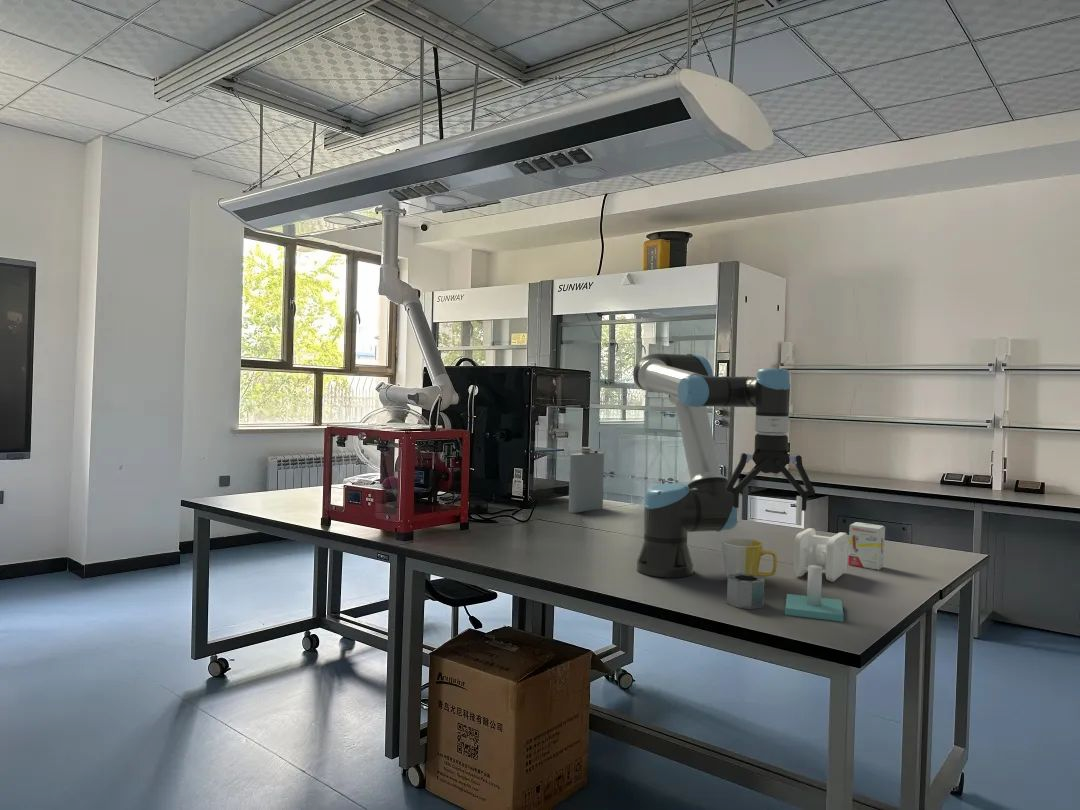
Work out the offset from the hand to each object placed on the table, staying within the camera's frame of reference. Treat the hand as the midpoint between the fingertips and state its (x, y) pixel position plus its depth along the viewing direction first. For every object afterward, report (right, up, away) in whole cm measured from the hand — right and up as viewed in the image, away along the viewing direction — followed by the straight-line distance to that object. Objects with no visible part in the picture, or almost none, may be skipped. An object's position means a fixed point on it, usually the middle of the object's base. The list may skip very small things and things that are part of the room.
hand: (768, 523), depth 177 cm
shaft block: (+8, -19, -8) cm, 22 cm away
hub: (-7, -18, -3) cm, 20 cm away
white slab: (-36, -14, +118) cm, 125 cm away
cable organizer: (+21, -18, +24) cm, 37 cm away
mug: (-1, -18, +15) cm, 23 cm away
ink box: (+39, -18, +35) cm, 55 cm away
